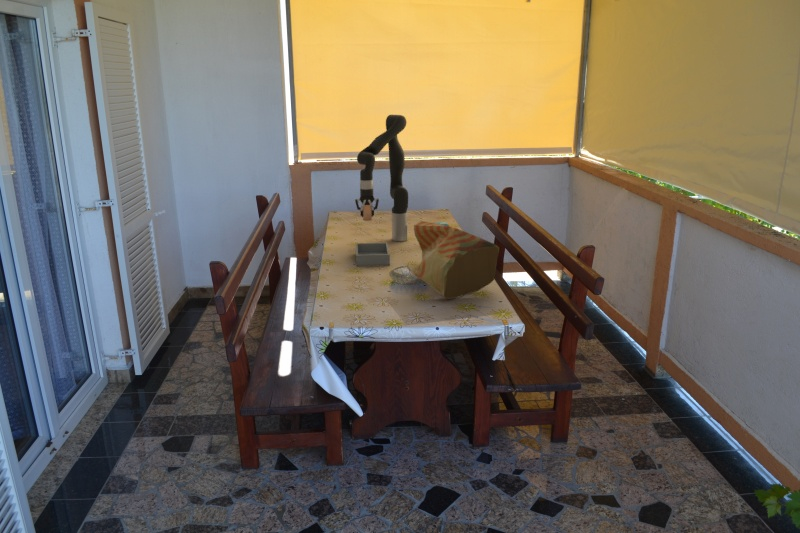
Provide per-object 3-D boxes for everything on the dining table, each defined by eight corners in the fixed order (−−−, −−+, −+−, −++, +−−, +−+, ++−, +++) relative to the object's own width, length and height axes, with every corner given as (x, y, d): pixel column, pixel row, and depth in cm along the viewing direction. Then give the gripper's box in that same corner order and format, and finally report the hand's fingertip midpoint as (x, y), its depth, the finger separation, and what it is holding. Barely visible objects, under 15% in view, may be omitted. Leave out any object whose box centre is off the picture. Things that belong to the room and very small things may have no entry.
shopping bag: (467, 235, 276) (405, 203, 301) (437, 300, 281) (378, 263, 306) (509, 249, 303) (449, 219, 329) (481, 309, 308) (424, 274, 333)
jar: (371, 218, 373) (371, 203, 370) (372, 220, 368) (371, 205, 365) (362, 218, 373) (362, 203, 370) (363, 220, 368) (362, 205, 365)
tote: (387, 252, 367) (387, 242, 365) (389, 265, 344) (389, 254, 342) (356, 253, 366) (355, 243, 364) (356, 266, 343) (356, 255, 341)
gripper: (378, 186, 369) (379, 214, 374) (354, 186, 368) (354, 215, 373) (379, 188, 362) (380, 217, 367) (354, 189, 361) (354, 218, 366)
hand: (367, 216), depth 370 cm, fingers closed on jar, 5 cm apart
